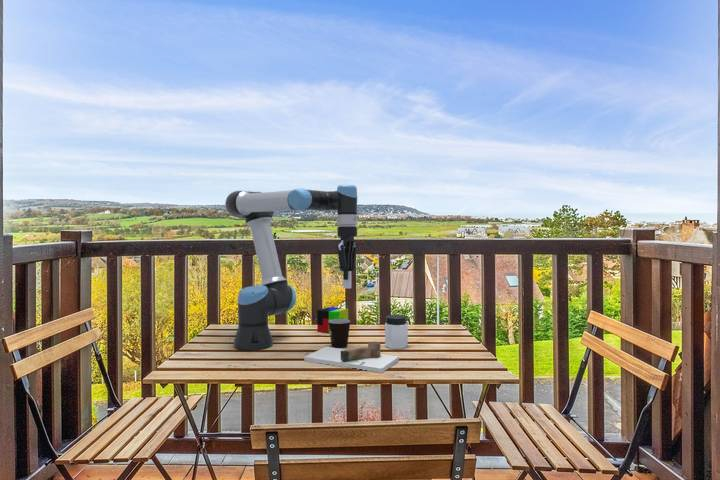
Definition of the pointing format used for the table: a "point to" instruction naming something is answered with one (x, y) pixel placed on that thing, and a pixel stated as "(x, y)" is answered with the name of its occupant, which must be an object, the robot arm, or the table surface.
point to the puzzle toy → (329, 317)
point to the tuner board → (367, 363)
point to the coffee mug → (339, 332)
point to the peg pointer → (362, 352)
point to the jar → (396, 332)
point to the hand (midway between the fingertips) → (347, 288)
